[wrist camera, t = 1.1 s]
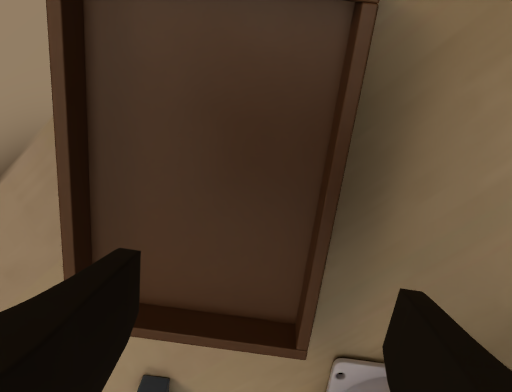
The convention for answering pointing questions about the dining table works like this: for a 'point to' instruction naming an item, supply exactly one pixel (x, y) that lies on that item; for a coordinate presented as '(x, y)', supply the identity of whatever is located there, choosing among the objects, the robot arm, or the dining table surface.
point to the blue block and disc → (154, 384)
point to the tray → (208, 155)
